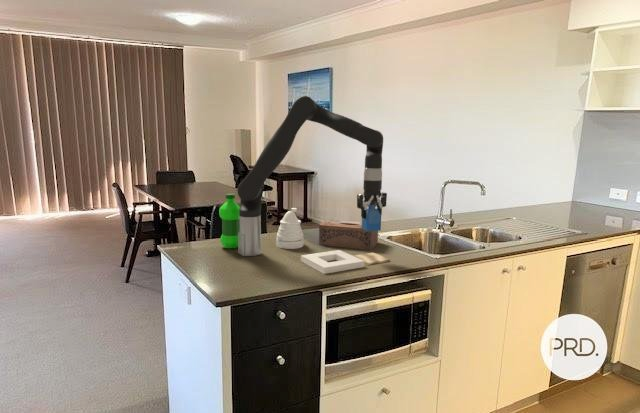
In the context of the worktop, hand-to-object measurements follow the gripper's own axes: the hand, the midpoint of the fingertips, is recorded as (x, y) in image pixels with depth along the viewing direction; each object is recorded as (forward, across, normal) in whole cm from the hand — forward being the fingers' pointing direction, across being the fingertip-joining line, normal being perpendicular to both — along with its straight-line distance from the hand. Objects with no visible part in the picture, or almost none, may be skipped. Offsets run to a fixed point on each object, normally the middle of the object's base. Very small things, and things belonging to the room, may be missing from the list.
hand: (371, 217), depth 188 cm
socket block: (+18, +18, -2) cm, 26 cm away
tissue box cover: (+19, -7, -27) cm, 34 cm away
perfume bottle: (+5, 0, 0) cm, 5 cm away
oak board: (+18, 0, 0) cm, 18 cm away
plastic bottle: (+19, +46, -46) cm, 68 cm away
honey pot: (+19, +20, -37) cm, 46 cm away
